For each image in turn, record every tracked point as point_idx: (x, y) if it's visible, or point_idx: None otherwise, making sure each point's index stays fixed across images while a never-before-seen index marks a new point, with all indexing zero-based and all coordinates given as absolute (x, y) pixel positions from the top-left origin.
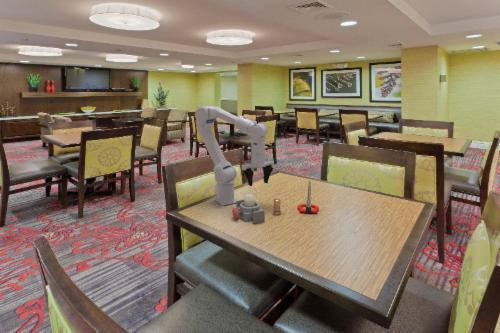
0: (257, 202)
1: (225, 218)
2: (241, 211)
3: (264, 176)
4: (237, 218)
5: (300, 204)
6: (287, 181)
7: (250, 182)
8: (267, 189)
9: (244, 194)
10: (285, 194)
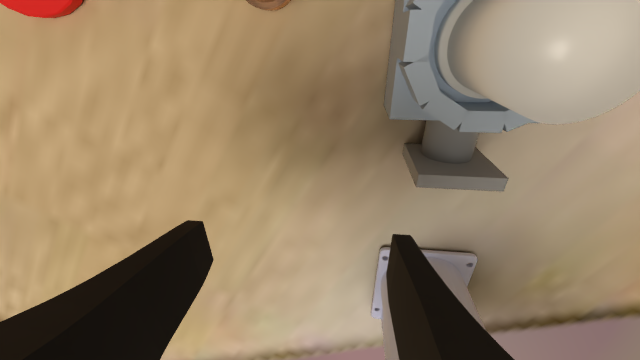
0: (408, 51)
1: None
2: None
3: (169, 317)
4: None
5: (49, 13)
6: None
7: (433, 272)
8: None
9: (637, 89)
10: (110, 215)
